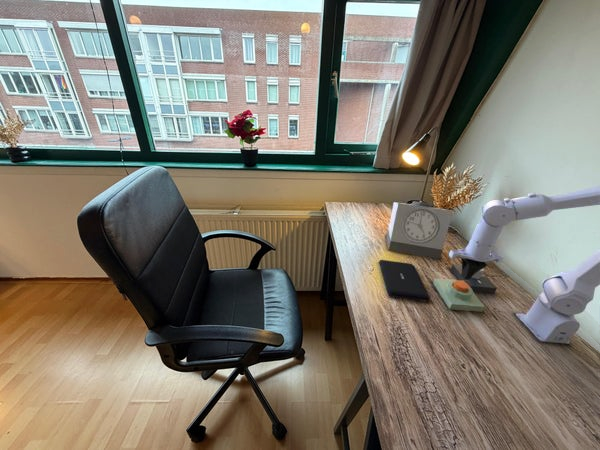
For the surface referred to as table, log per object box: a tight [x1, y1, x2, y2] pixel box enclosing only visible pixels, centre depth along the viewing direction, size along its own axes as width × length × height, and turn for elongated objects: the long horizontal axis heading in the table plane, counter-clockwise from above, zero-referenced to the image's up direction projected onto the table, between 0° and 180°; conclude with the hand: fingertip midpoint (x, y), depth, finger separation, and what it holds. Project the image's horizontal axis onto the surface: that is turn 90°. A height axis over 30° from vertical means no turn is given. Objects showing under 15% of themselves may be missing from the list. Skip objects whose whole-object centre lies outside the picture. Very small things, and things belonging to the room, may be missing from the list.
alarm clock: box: [385, 200, 454, 260], centre depth 104 cm, size 20×16×20 cm
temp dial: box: [472, 268, 485, 279], centre depth 87 cm, size 4×4×4 cm
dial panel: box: [450, 264, 498, 294], centre depth 88 cm, size 12×9×3 cm
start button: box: [453, 279, 469, 292], centre depth 79 cm, size 4×4×2 cm
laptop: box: [378, 259, 431, 302], centre depth 86 cm, size 16×20×2 cm
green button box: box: [432, 277, 486, 313], centre depth 80 cm, size 12×10×4 cm
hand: (464, 277), depth 77 cm, fingers closed
